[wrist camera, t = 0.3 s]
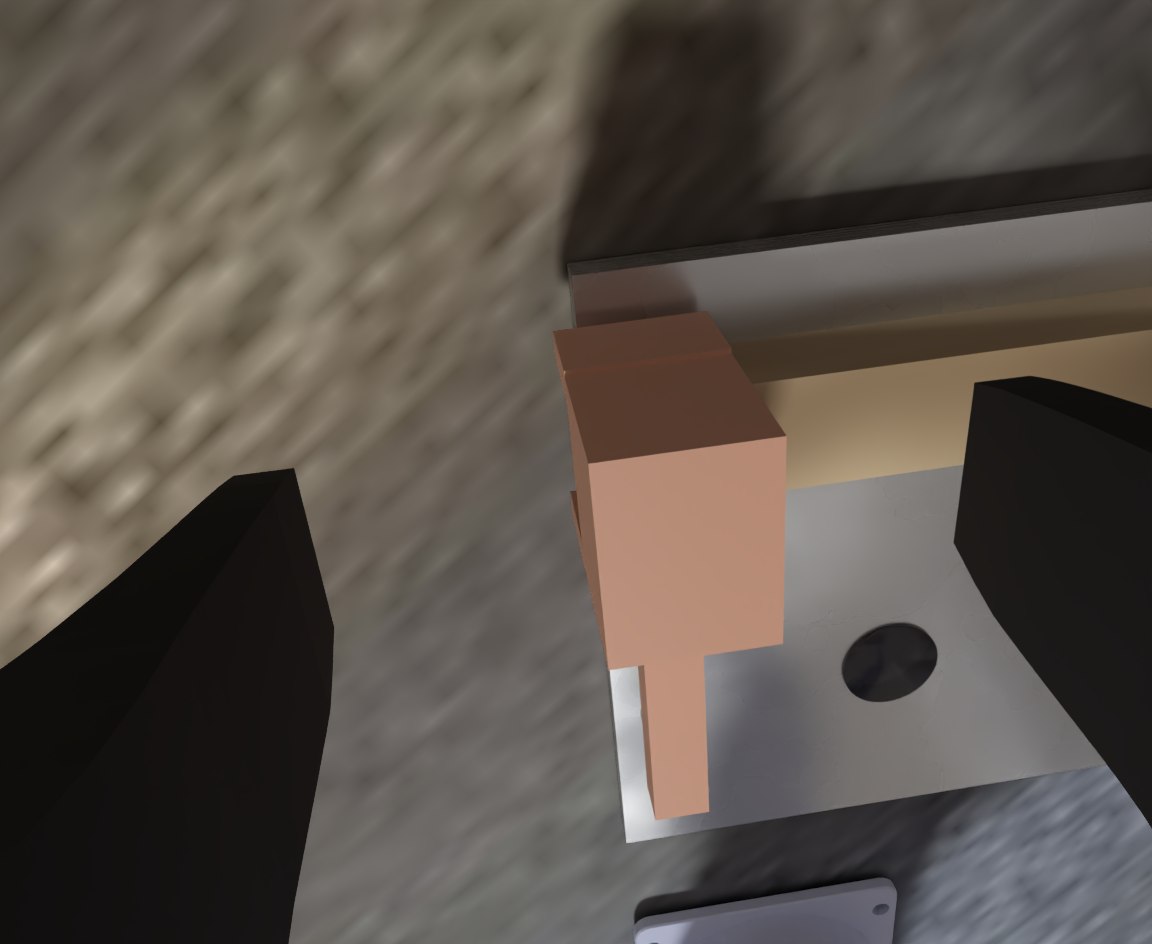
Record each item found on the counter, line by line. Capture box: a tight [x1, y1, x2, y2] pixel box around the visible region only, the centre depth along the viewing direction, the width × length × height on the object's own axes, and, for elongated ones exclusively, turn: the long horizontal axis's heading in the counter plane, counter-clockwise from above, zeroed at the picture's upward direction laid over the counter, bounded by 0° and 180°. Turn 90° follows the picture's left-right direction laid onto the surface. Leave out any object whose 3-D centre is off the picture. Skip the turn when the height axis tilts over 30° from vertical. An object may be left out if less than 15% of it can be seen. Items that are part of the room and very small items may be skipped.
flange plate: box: [567, 189, 1152, 843], centre depth 24 cm, size 16×20×1 cm
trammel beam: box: [728, 286, 1152, 490], centre depth 20 cm, size 10×20×5 cm, turn 95°
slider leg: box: [553, 311, 787, 820], centre depth 20 cm, size 10×3×5 cm, turn 5°
